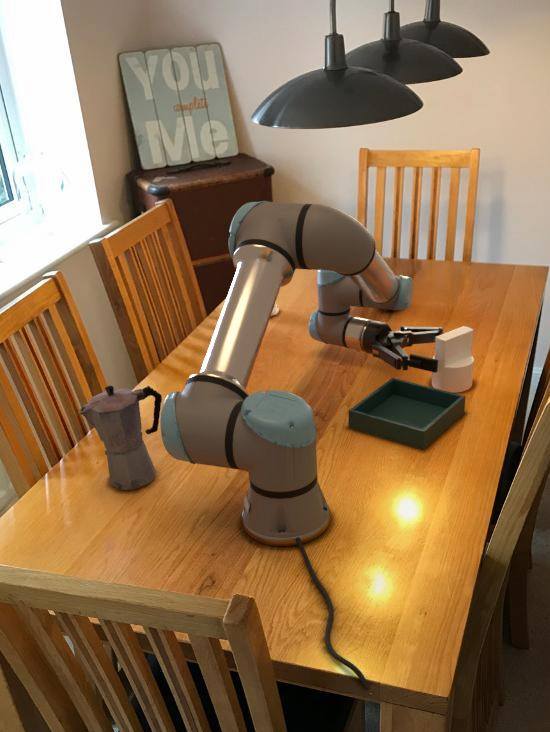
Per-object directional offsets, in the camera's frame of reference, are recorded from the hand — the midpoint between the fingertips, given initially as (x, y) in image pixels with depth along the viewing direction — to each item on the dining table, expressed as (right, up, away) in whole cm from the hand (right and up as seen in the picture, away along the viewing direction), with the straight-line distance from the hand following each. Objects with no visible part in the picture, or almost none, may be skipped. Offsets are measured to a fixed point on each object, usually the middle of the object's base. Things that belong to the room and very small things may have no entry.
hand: (451, 354), depth 184 cm
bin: (-11, -16, -9) cm, 21 cm away
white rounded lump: (-42, +19, +45) cm, 64 cm away
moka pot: (-66, -28, -21) cm, 75 cm away
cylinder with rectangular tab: (+1, -6, +4) cm, 7 cm away
